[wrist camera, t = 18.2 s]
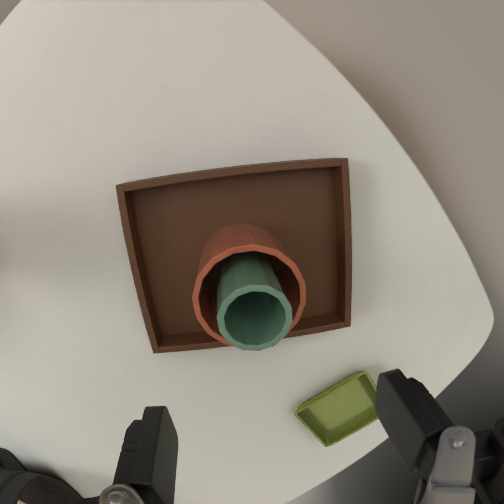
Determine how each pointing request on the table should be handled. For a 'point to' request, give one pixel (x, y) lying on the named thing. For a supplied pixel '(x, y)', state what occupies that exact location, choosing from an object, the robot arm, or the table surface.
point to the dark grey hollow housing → (27, 483)
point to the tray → (229, 213)
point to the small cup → (251, 302)
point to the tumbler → (236, 242)
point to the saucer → (340, 409)
